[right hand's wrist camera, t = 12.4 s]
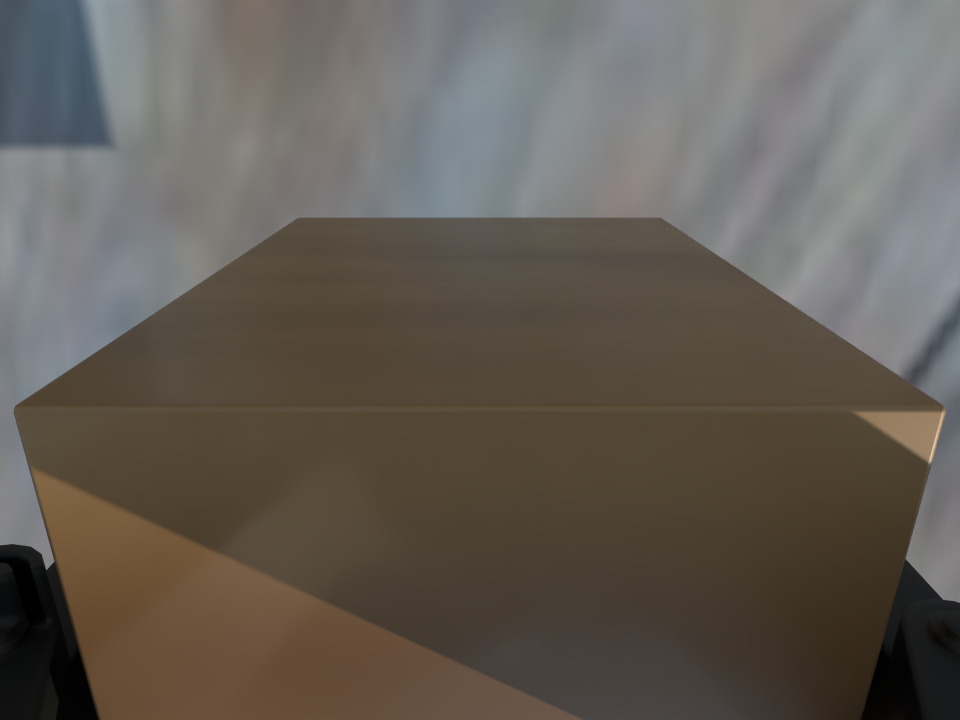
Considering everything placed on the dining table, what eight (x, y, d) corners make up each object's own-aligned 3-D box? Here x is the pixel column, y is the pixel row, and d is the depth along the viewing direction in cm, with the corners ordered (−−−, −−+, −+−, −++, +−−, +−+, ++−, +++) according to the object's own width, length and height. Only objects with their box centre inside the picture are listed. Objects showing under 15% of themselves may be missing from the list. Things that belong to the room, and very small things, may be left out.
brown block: (630, 547, 17) (784, 1007, 9) (328, 547, 17) (174, 1008, 9) (662, 217, 14) (951, 406, 6) (297, 217, 14) (8, 406, 6)
